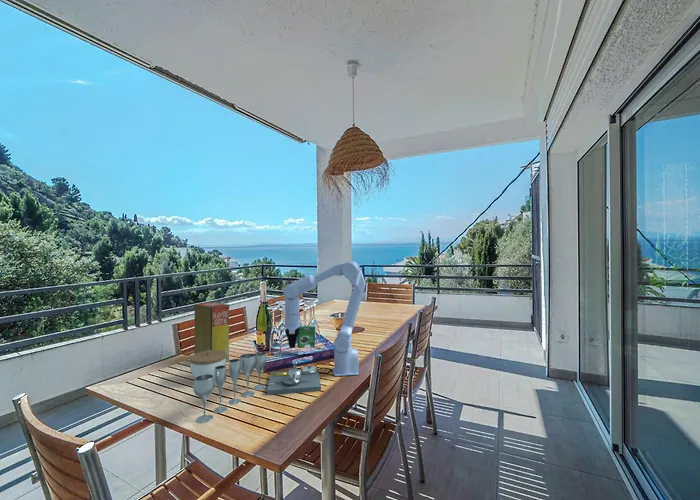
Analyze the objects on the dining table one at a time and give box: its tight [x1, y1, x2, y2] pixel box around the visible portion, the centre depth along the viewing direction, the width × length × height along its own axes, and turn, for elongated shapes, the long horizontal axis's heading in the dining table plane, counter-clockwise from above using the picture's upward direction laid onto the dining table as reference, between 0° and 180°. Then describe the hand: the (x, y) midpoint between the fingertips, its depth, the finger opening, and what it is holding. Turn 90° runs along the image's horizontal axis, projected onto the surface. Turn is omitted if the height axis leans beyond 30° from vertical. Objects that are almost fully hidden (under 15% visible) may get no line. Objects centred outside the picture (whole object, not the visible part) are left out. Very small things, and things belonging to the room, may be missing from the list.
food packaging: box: [193, 301, 230, 363], centre depth 137 cm, size 13×9×25 cm
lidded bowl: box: [189, 350, 227, 380], centre depth 118 cm, size 13×13×11 cm
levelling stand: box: [266, 365, 322, 396], centre depth 114 cm, size 18×16×4 cm
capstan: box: [273, 364, 316, 385], centre depth 111 cm, size 15×15×4 cm
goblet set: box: [192, 351, 267, 424], centre depth 100 cm, size 28×6×13 cm, turn 154°
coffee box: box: [296, 324, 316, 348], centre depth 145 cm, size 8×3×13 cm, turn 110°
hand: (292, 347), depth 126 cm, fingers closed
